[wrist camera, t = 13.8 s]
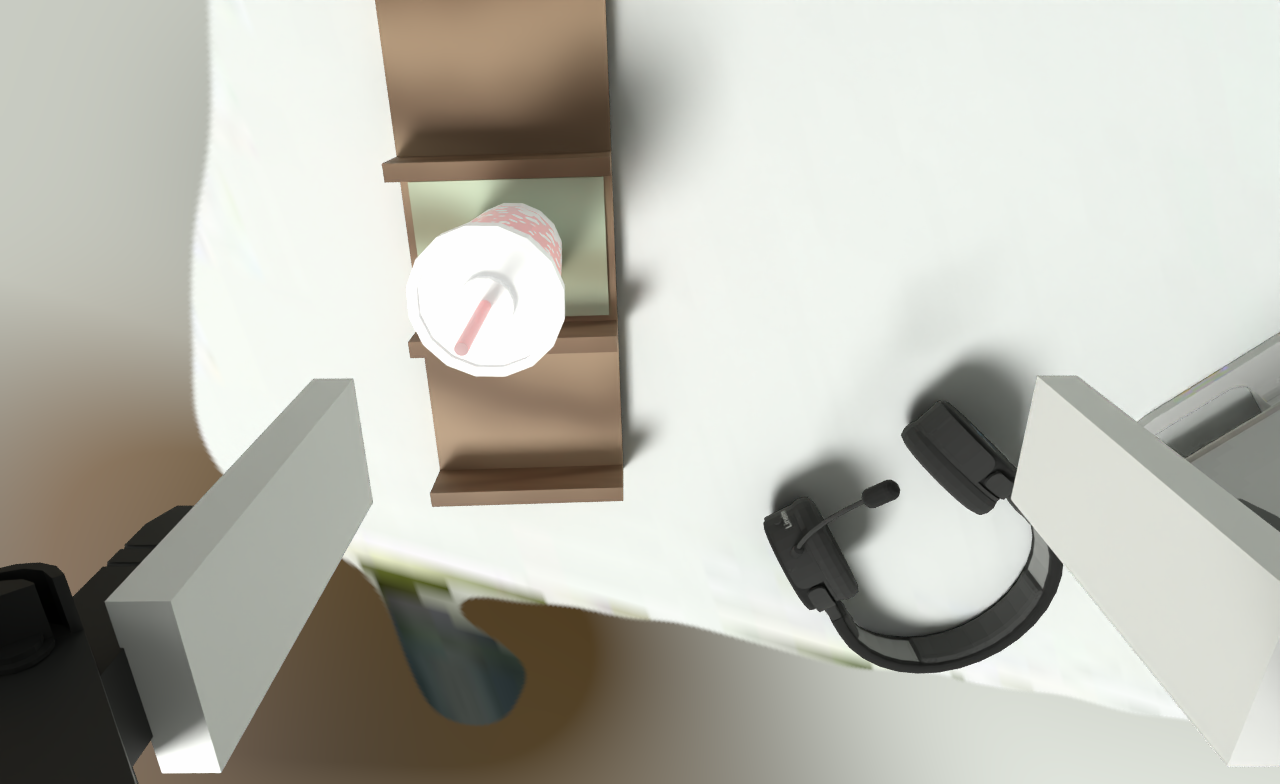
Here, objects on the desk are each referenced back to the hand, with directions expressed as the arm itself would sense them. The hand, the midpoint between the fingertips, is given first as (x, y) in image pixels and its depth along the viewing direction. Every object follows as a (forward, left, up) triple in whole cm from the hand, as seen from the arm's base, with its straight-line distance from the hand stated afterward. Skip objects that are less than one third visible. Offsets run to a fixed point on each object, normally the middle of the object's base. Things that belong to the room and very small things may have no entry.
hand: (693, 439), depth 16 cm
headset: (+19, +14, -27) cm, 36 cm away
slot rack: (+2, -7, -26) cm, 27 cm away
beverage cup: (+2, -7, -25) cm, 26 cm away
